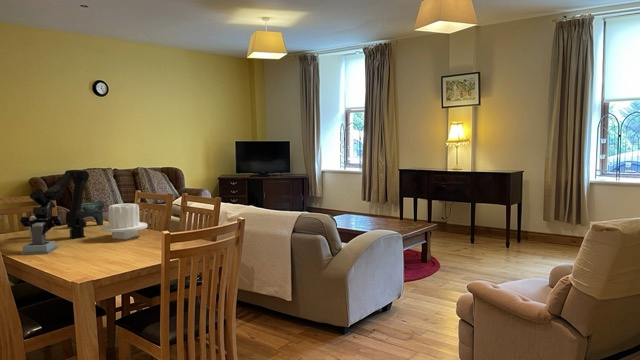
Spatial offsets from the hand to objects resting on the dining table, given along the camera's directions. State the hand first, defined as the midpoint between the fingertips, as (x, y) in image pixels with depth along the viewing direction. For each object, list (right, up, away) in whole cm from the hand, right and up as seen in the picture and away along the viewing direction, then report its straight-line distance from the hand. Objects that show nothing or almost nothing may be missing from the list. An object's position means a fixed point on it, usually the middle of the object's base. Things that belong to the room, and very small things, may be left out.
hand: (37, 234), depth 242 cm
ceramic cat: (-8, -3, +71) cm, 71 cm away
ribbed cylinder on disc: (+30, -6, +36) cm, 47 cm away
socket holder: (0, -9, +2) cm, 9 cm away
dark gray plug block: (0, -6, +2) cm, 7 cm away
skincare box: (-23, -6, +38) cm, 44 cm away
